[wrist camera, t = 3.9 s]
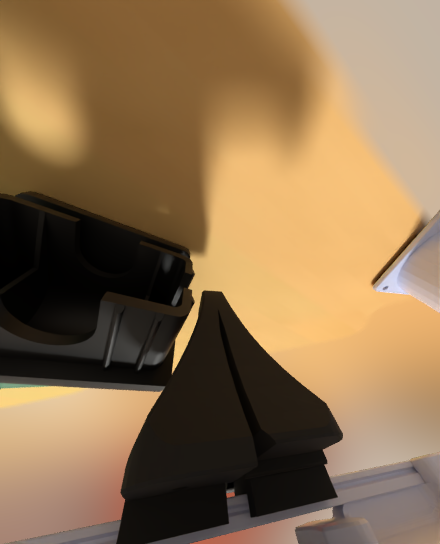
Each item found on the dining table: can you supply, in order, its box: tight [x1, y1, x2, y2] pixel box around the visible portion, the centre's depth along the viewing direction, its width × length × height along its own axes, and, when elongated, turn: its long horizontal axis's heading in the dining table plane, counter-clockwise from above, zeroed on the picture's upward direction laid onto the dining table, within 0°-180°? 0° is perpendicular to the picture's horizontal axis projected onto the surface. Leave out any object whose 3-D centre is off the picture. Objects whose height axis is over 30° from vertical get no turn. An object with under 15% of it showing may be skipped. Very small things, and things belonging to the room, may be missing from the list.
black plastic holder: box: [0, 192, 195, 392], centre depth 9 cm, size 10×7×7 cm
